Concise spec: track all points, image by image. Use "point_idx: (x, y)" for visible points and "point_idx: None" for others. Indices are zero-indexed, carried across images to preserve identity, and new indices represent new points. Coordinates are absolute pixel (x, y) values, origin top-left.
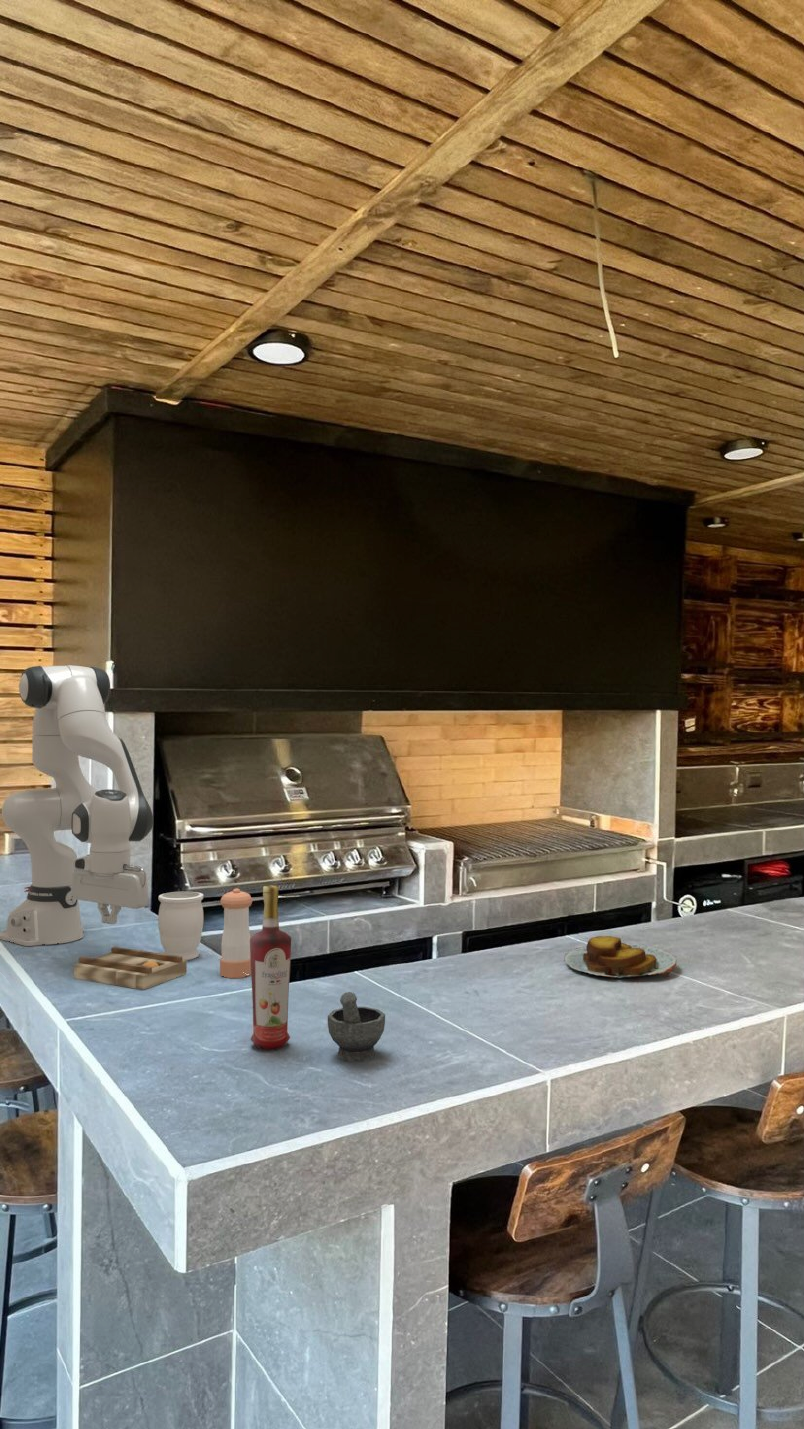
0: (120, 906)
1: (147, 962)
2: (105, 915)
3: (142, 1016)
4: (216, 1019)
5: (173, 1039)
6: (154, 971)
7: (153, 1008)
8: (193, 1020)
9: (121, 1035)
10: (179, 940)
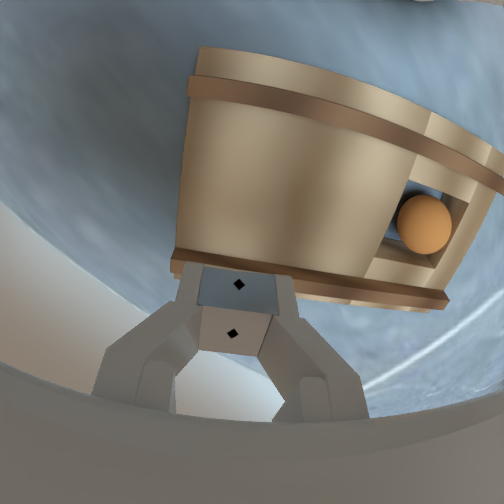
0: (358, 398)
1: (430, 247)
2: (205, 343)
3: (426, 372)
4: (501, 347)
5: (455, 392)
6: (448, 278)
7: (439, 350)
8: (480, 358)
9: (408, 405)
10: (474, 1)
